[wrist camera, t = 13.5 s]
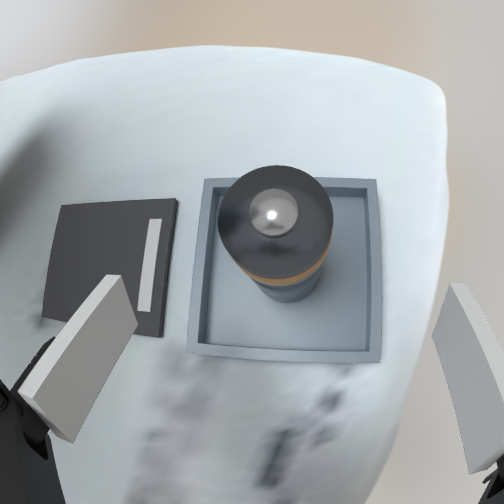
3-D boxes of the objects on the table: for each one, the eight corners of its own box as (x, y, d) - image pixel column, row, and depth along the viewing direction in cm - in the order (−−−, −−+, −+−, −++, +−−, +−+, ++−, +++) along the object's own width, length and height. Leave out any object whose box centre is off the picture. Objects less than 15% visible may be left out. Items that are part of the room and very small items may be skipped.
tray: (197, 351, 24) (186, 352, 22) (212, 191, 28) (204, 178, 25) (372, 360, 22) (380, 362, 20) (370, 193, 26) (376, 179, 23)
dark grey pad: (45, 317, 27) (40, 316, 27) (64, 207, 30) (60, 204, 30) (161, 337, 25) (157, 337, 24) (177, 201, 28) (174, 197, 27)
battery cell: (252, 302, 24) (206, 269, 13) (256, 236, 25) (219, 159, 14) (320, 304, 23) (336, 274, 12) (321, 238, 24) (333, 158, 13)
